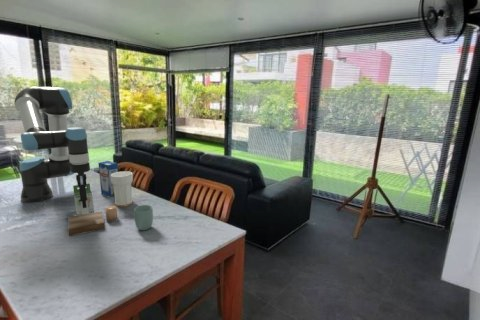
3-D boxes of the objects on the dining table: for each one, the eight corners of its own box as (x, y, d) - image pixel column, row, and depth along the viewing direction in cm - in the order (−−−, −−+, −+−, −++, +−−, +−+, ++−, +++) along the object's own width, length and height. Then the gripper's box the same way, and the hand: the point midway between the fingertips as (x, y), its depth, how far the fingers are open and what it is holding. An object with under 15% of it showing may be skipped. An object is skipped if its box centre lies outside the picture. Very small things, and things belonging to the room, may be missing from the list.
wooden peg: (106, 218, 134) (105, 207, 133) (117, 216, 137) (116, 205, 135) (107, 222, 130) (105, 210, 129) (118, 220, 133) (117, 208, 131)
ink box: (77, 216, 121) (73, 187, 118) (76, 213, 124) (72, 185, 121) (94, 212, 125) (91, 185, 122) (93, 210, 128) (90, 183, 125)
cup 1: (108, 205, 150) (105, 175, 146) (123, 198, 161) (121, 170, 157) (124, 208, 146) (121, 177, 142) (138, 201, 156) (137, 172, 152)
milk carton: (120, 194, 167) (117, 163, 162) (110, 197, 162) (107, 165, 157) (110, 191, 172) (107, 160, 167) (101, 194, 167) (98, 162, 162)
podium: (69, 222, 129) (68, 217, 128) (102, 216, 136) (101, 211, 135) (68, 235, 117) (68, 229, 116) (104, 228, 124) (104, 222, 123)
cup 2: (156, 226, 128) (155, 206, 125) (146, 233, 120) (144, 212, 118) (143, 223, 130) (141, 203, 128) (131, 230, 123) (130, 210, 121)
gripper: (70, 159, 125) (75, 206, 130) (69, 168, 110) (75, 220, 116) (88, 158, 129) (93, 204, 134) (90, 166, 114) (95, 217, 119)
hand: (85, 211), depth 125 cm, fingers closed on ink box, 4 cm apart
